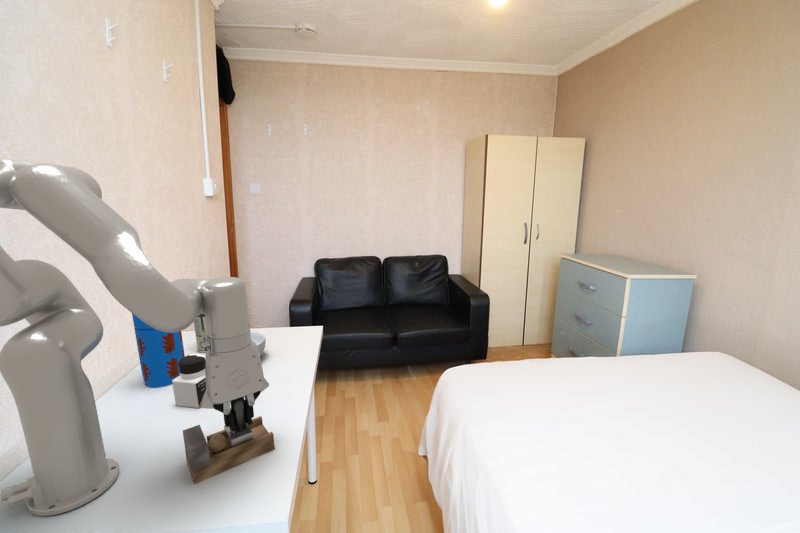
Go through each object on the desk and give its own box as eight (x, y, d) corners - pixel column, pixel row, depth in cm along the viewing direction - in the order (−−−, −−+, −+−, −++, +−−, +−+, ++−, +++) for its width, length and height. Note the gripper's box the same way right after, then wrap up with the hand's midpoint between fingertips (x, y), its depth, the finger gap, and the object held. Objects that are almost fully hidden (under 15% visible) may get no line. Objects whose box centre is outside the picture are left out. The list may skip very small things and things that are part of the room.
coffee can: (218, 339, 136) (214, 303, 134) (235, 344, 131) (231, 307, 128) (190, 349, 128) (185, 310, 125) (207, 355, 122) (202, 315, 120)
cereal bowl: (231, 378, 106) (228, 356, 105) (199, 365, 115) (196, 344, 114) (278, 356, 121) (276, 336, 119) (246, 346, 129) (244, 327, 128)
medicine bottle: (199, 408, 91) (193, 364, 89) (175, 406, 93) (168, 362, 91) (218, 393, 98) (213, 352, 96) (195, 391, 100) (190, 350, 97)
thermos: (190, 367, 114) (179, 289, 109) (183, 383, 104) (171, 298, 99) (149, 373, 110) (136, 293, 105) (138, 391, 100) (123, 303, 96)
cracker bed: (194, 484, 67) (189, 450, 66) (186, 460, 73) (182, 429, 72) (274, 448, 76) (271, 418, 75) (262, 430, 82) (259, 402, 81)
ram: (232, 452, 72) (227, 407, 70) (225, 438, 76) (220, 395, 75) (253, 444, 74) (248, 400, 73) (245, 430, 79) (240, 388, 77)
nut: (210, 459, 71) (208, 443, 70) (207, 450, 73) (205, 435, 73) (229, 451, 73) (227, 436, 72) (225, 442, 75) (223, 428, 75)
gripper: (186, 358, 64) (199, 451, 67) (278, 335, 74) (285, 418, 77) (180, 345, 70) (192, 432, 73) (265, 325, 79) (272, 402, 83)
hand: (240, 424), depth 75 cm, fingers closed on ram, 2 cm apart
